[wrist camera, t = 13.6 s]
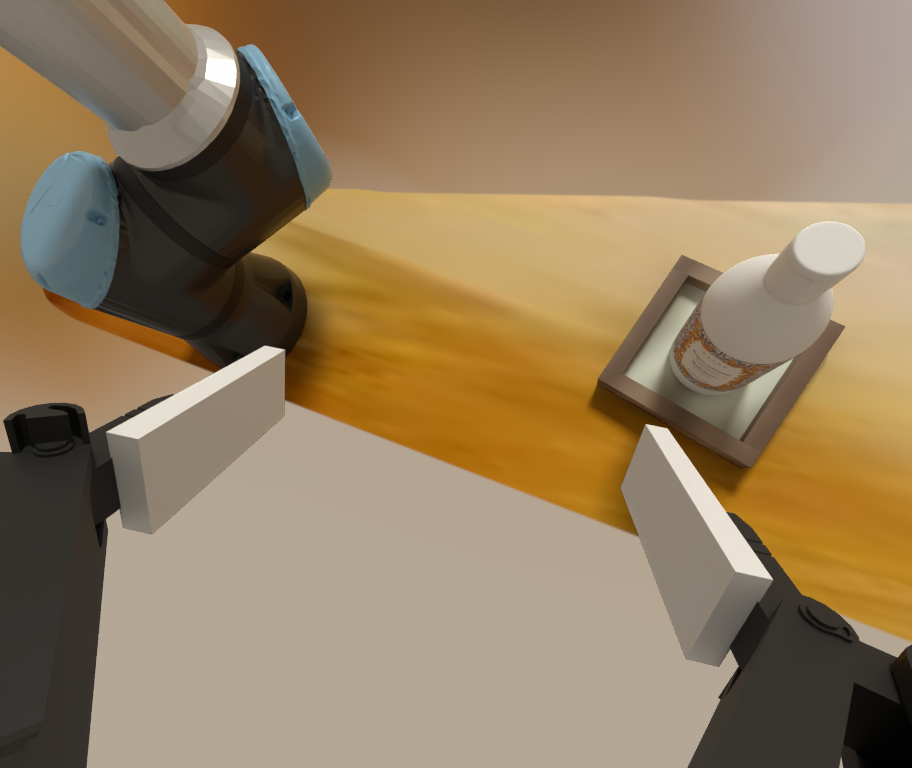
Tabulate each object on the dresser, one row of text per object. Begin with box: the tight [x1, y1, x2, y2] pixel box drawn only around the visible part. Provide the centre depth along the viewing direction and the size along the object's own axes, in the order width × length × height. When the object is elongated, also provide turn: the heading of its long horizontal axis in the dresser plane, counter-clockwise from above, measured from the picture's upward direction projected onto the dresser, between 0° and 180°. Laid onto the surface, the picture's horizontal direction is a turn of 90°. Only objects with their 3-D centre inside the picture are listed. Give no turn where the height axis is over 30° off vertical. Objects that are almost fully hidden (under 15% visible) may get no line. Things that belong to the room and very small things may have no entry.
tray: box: [597, 255, 845, 468], centre depth 39 cm, size 14×14×2 cm
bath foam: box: [670, 221, 866, 396], centre depth 30 cm, size 7×7×20 cm
